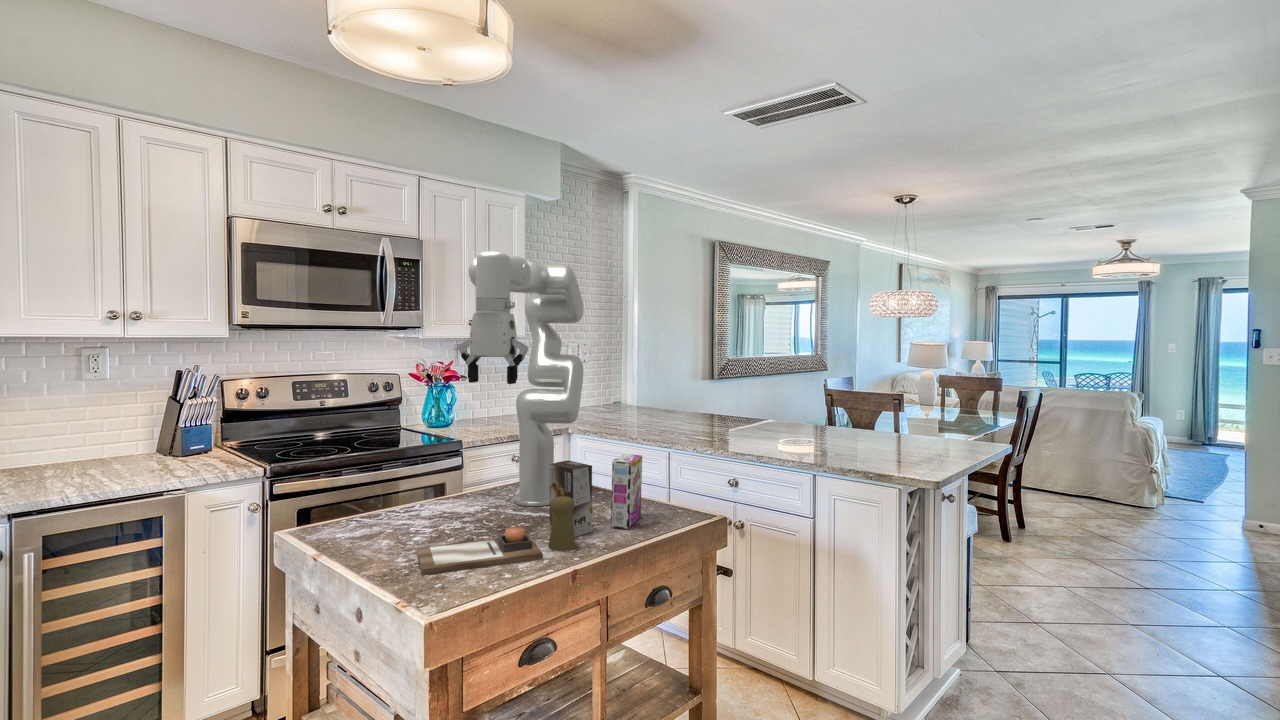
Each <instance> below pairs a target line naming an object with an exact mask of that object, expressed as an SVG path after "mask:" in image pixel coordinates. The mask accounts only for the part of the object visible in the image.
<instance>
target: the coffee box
mask: <svg viewBox="0 0 1280 720" xmlns="http://www.w3.org/2000/svg"><path fill="white" fill-rule="evenodd" d="M560 496H566V497H570V498H572V499H573V501H574V510H573V511H572V518H573V526H574V534H575V538H576V537H579V536H583V535H586V534H590V533H592V531H593V465H590V464H586V463H581V462H577V461H572V460H563V461H557V462H554V463H553V464H550V505H549V530H550V531H551V526H552V519H553V511H552V510H551V502H552V500H553V499H554V498H556V497H560ZM589 532H590V533H589Z"/></svg>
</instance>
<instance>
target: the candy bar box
mask: <svg viewBox="0 0 1280 720" xmlns="http://www.w3.org/2000/svg"><path fill="white" fill-rule="evenodd" d="M611 466H612V467H611V469H612V470H611V500H610V501H611V509H610V528H612V529H619V528H620V529H621V530H629V529H630V528H632V526H633V525H634V524H635V523H637V521H638V520H639V519H640V518H641V516H642V512H641V511H642V480H643V477H642V476H643V455H640V454H631V453H629V454H624V455H622V456H620V457H618V458H617V459H615V460H613V461H612V465H611Z"/></svg>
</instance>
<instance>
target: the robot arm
mask: <svg viewBox="0 0 1280 720" xmlns="http://www.w3.org/2000/svg"><path fill="white" fill-rule="evenodd" d="M468 277H469V279H470V282H471V284H472V285H473V286H475V312H473V314H472V319H471V323H470V330H469V339H467V340H466V341H464V342H462V343H460V344H458V345H457V350H458V352H459V354H460V357H461V358H462V359H463V361H464V362H465V365H466V366H467V378H468V383H470V384H471V383H478V382H479V372H480V371H479V364H477V363H478V362H479V361H480V359H481V358H504V359H505V360H506V362H507V363H508V366H507V367H506V384H508V385H515V384H516V383H517V380H518V372H519V371H518V369H519V366H520V364H521V362H523V360H525V358H526V355H527V353H528V351H529V345H526V344H524V343H523V342H521V341H520V340H518V336H517V334H518V333H517V326H516V320H515V315H514V313H511V311H512V310H511V309H515V308H516V304H515V302H513V301H512V300H511V293H517V294H518V293H521V294H528V295H530V296H528V297H527V298H526V299H525V302H524V313H525V317H526V321H527V324H528V328H529V330H530V333H531V338H532V344H531V349H530V354H529V355H530V356H529V360H528V367H527V380H528V383H529V384H531V385H532V386H535V387H538V388H528V389H527V388H526V389H523V391H521V392H520V393H519V394H518V396H516V401H515V407H516V408H515V409H516V415H517V419H518V420H517V421H518V429H519V431H518V432H519V433H518V435H519V446H518V447H519V450H518V451H519V452H518V453H519V455H518V457H519V459H518V460H519V461H518V463H519V467H518V469H519V470H518V471H519V472H518V474H519V476H518V477H519V479H518V484H519V485H518V486H519V488H518V489H519V491H518V492H519V493H517V494H515V495H514V497H513V502H514V503H515V504H516V505H520V506H526V507H544V506H550V464H553V463H555V461H554V460H555V459H554V458H555V455H554V453H555V451H554V450H555V449H554V448H555V441H554V436H553V433H552V432H551V429H550V428H549V427H548V425H547V424H563V425H565V424H572V423H574V422H575V421H577V419H578V416H579V413H580V412H579V411H580V406H581V397H582V391H583V382H584V365H583V361H582V359H581V358H580V357H579V356H577V355H575V354H561V351H562V345H563V343H562V339H561V337H560V335H559V334H558V332H557V331H556V329H554V328H553V327H552V325H551V324H576V323H578V322H580V321H581V320H582V318H583V316H584V312H585V310H584V302H583V298H582V294H581V290H580V286H579V282H578V280H577V276H576V273H575V272H574V270H573V269H572V267H571V266H569V265H567V264H544V263H543V264H541V263H537V262H534V261H531V260H528V259H525V258H524V257H522V256H518V255H508V253H506V252H500V251H482V252H479V253H478V254H477V256H476V257H475V258H473V259H472V261H470V264H469V267H468ZM468 348H469V353H468V350H467V349H468ZM518 350H519V351H518ZM554 388H556V389H554ZM558 388H559V389H558ZM560 388H561V389H560Z"/></svg>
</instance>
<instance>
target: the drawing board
mask: <svg viewBox="0 0 1280 720" xmlns="http://www.w3.org/2000/svg"><path fill="white" fill-rule="evenodd" d="M416 549H417V550H416V554H417V558H418V563H419V567H420V571H421V575H422V576H425V575H426V576H427V575H434V574H440V573H447V572H448V573H449V572H455V571H461V570H463V571H464V570H469V569H470V570H471V569H477V568H485V567H492V566H493V567H494V566H499V565H500V566H501V565H508V564H514V563H515V564H516V563H521V562H528V561H529V562H530V561H536V560H537V559H538V560H543V559H544V552H543V551H542V550H541V549H540V548H539V547H538V545H537V544H536V542H535V541H534V540H533V539H532V538H531V536H530V535H529V534H527V533H525V532H524V540H523V541H520V542H507V541H506V540H505V535H498V536H497V537H496V538H489V539H480V540H479V539H478V540H472V541H463V542H455V543H447V544H438V545H430V546H428V545H427V546H421V547H416ZM538 560H537V561H538Z"/></svg>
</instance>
